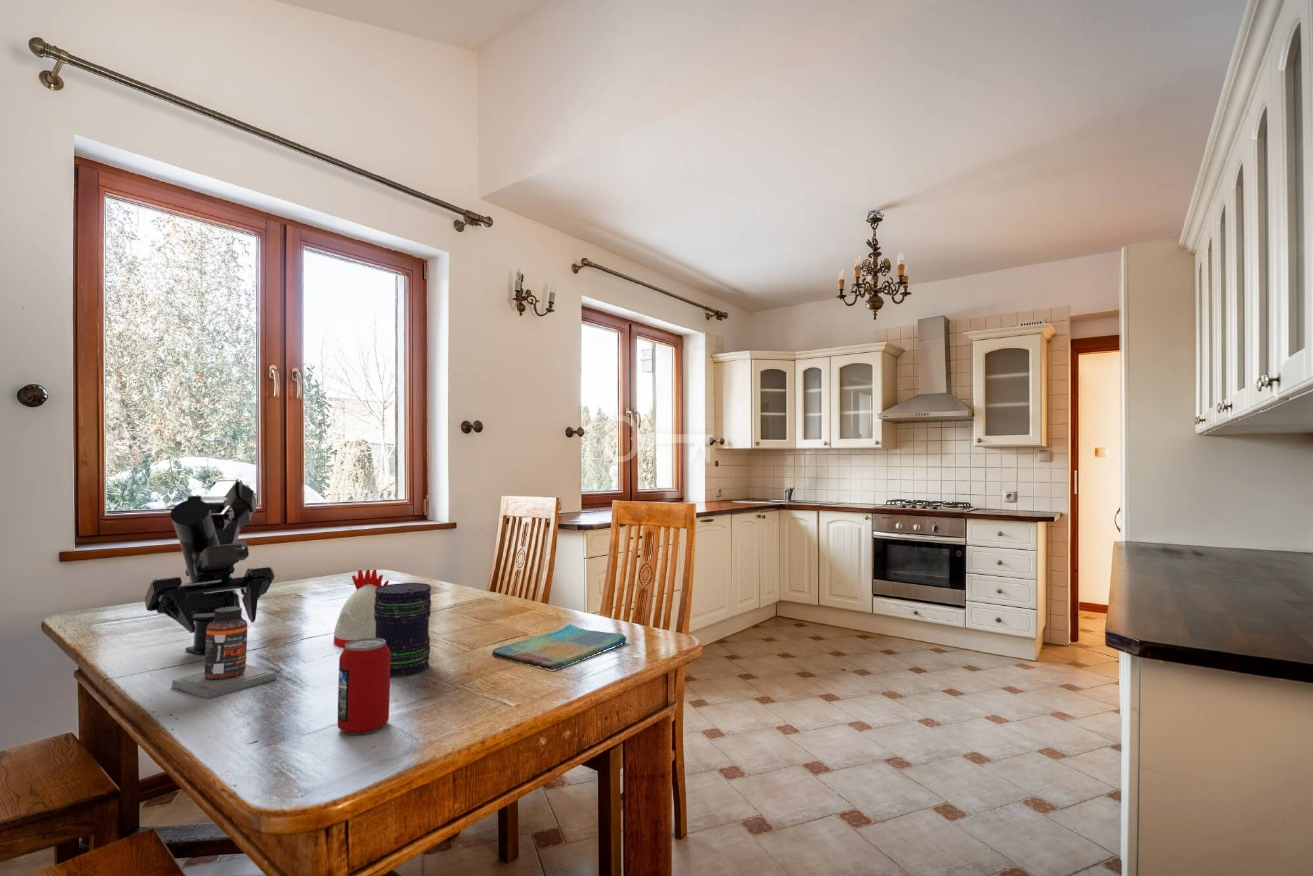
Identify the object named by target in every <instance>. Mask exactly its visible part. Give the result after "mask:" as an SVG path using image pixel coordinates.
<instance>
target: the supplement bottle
mask: <svg viewBox="0 0 1313 876" xmlns="http://www.w3.org/2000/svg"><path fill="white" fill-rule="evenodd" d="M242 612H243V608H242V607H241V606H240V607H224V608H219V609H216V610H215V611H214V620H213V621H212V622H211V623H210V624H209V625H208V626H207V631H206V650H205V654H204V671H203V672H205V673H204V675H205V677H206V678H208V679H227V678H232V677H236V676H238V675H240V674H242V673H244V671H245V667H246V663H247V658H248V657H247V649H248V648H247V647H248V621H247V620H246V619H245V618H244V617H242V615H243V613H242Z"/></svg>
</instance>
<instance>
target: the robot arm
mask: <svg viewBox="0 0 1313 876" xmlns="http://www.w3.org/2000/svg"><path fill="white" fill-rule="evenodd" d="M256 510H257V499H256V495H255V491H254V490H253V489H251V488H249V487H248V486H246V485H244V484H243V481H242V479H238V478H218V479H214V480H213V483H212V487H211V488H210V489H209V490H208V491H207V492H206V494H205V495H204V496H202V495H188V496H187V500H184V501H182V502H179V503H178V504H176V505H175V506H174V507H173V509H171V510H170V519H171V521H172V524H173V527H174V530H175V532H176V534H175V535H177V539H178V541H179V545H180V549H181V552H182V555H183V558H184V561H185V565H186V569H185V572H184V573H185V575H186V577H189V580H190V582H187V583H186V582H185V583H184V582H183V581H182V577H181V576H171V577H162V578H155V579H153V580H152V581H151V582H150V583H149V586H148V589H147V591H146V595H145V597H144V603H145V608H146V611H149V612H153V611H156V612H157V613H158V614H165V615H167V616H168V617H169V618H172V619H173V620H175V622H177V623H179V625H180V626H182V627H183V628H184V629H185V630H187V631H188V632H189V633H190V634H194V635H193V645H192V646H188V647H185V651H186V652H191V653H195V654H198V655H205V650H206V631H207V626H208V625H209V624H210V623H211V622H212V621H213V620H214V611H215V610H216V609H219V608H224V607H241V603H240V602H241V601H242V604H243V607H244V609H245V612H246V615H247V618H248V620H249V621H250V622H251V623H254V622H255V621H256V617H257V610H258V609H257V608H258V600H259V599H260V598H261V596H263V595H265V594H266V593H267V592H268V590H269V588H270V586H271V585H272V582H273V581H274V578H275V572H274V570H273V569H272V567H271V566H267V565H266V566H259V567H251V568H247V569H246V571H245V573H244V576H242V577H241V576H239V577H232V575H231V574H234V572H235V570H236V568H235V566H234V565H235V564H237V563H239V562H240V561H245V560H246V559H247V558H248V557H249V554H250V553H249V547H248V545H247V542H246V540H241V541H238V539H239V535H240V531H241V529H243V528H244V527H245V526H246V525H248V524H249V523H250V522H251V519H252V517H253V514H254V513H256ZM237 590H240V592H241V595H242V597H241V601H240V595H239V594H238V593H237Z"/></svg>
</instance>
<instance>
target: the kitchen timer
mask: <svg viewBox="0 0 1313 876" xmlns="http://www.w3.org/2000/svg"><path fill="white" fill-rule="evenodd" d="M383 577H384V575H383V574H381V575H379V576H378V575H377V569H373V570H372V572H371V570H370V569H366V570H365V574H364V573H363V570H362V569H358V571H357V576H356V575H352V576H351V578H352V581H353V584H354V586H355V588H356V590H355V591H354V592H353V593H352V594H351V595H349V597H348V598H347V600H346V601H345V603H344V604H343V606H342V608H341V610H340V613H339V616H338V617H337V621H336V625H335V626H334V627H335V628H334V634H333V644H334V645H335V646H337V647H339V648H345V644H346V643H348V642H350V641H353V640H358V639H364V638H375V632H376V621H375V620H374V615H375V610H374V603H375V597H376V594H375V589H376V588H377V587H380V586H384V585H389V583H390V580H386V581H384V583H383V584H382V580H383Z"/></svg>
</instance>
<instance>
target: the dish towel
mask: <svg viewBox="0 0 1313 876" xmlns="http://www.w3.org/2000/svg"><path fill="white" fill-rule="evenodd" d="M625 641H626V642H627V637H626V636H625V635H624V633H620V632H619V633H618V632H605V631H599V630H589V629H584V628H581V627H578V626H577V625H576V626H575V625H573V624H570V623H569V624H567V625H565V626H563V628H561V629H558V630H556V631H554V632H553V631H552V632H547V633H542V634H538V635H535V636H532V637H530V638H527V639H522V640H519V641H515V642H512V643H509V644H506V645H502V646H498V647H495V648H494V649H492V651H491V655H492V656H494V657H493V658H496V657H497V658H496V659H500V658H502V659H501V660H504V659H505V660H504V661H508V660H512V661H515V662H514V663H516V662H521V663H523V664H522V665H524V664H530V665H533V666H540V667H542V668H548V669H551V670H554V669H558V668H561V667H563V666H566V665H568V664H571V663H573V662H576V661H578V660H582V659H584V658H587V657H589V656H592V655H594V654H597V653H599V652H603V651H604V650H607V649H609V648H612V647H614V646H617V645H620V644H621V643H625V644H626V642H625ZM492 656H491V657H492ZM587 659H588V658H587ZM512 661H511V662H512ZM582 661H583V660H582ZM561 669H562V668H561Z"/></svg>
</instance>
